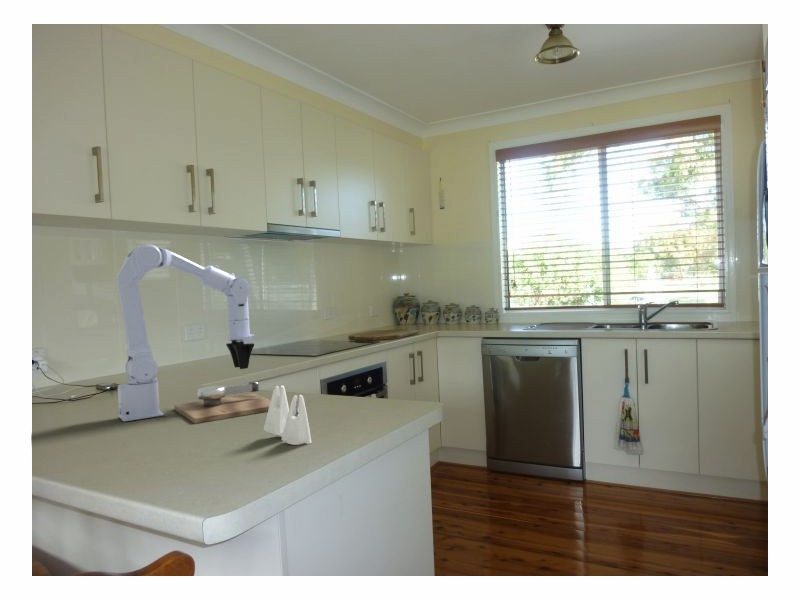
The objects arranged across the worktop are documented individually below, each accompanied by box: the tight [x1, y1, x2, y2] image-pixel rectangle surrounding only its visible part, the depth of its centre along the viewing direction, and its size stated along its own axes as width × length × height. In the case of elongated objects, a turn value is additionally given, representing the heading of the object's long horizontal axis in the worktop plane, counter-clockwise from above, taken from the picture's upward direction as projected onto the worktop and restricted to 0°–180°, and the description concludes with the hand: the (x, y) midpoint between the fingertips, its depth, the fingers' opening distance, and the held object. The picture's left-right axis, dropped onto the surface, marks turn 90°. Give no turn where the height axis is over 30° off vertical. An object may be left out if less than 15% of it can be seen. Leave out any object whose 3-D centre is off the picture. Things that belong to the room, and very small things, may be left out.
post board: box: [173, 392, 271, 425], centre depth 149 cm, size 22×22×3 cm
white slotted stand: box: [263, 385, 312, 446], centre depth 115 cm, size 12×4×11 cm, turn 44°
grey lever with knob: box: [197, 381, 260, 401], centre depth 153 cm, size 16×7×2 cm, turn 124°
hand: (241, 367), depth 160 cm, fingers open, 4 cm apart
